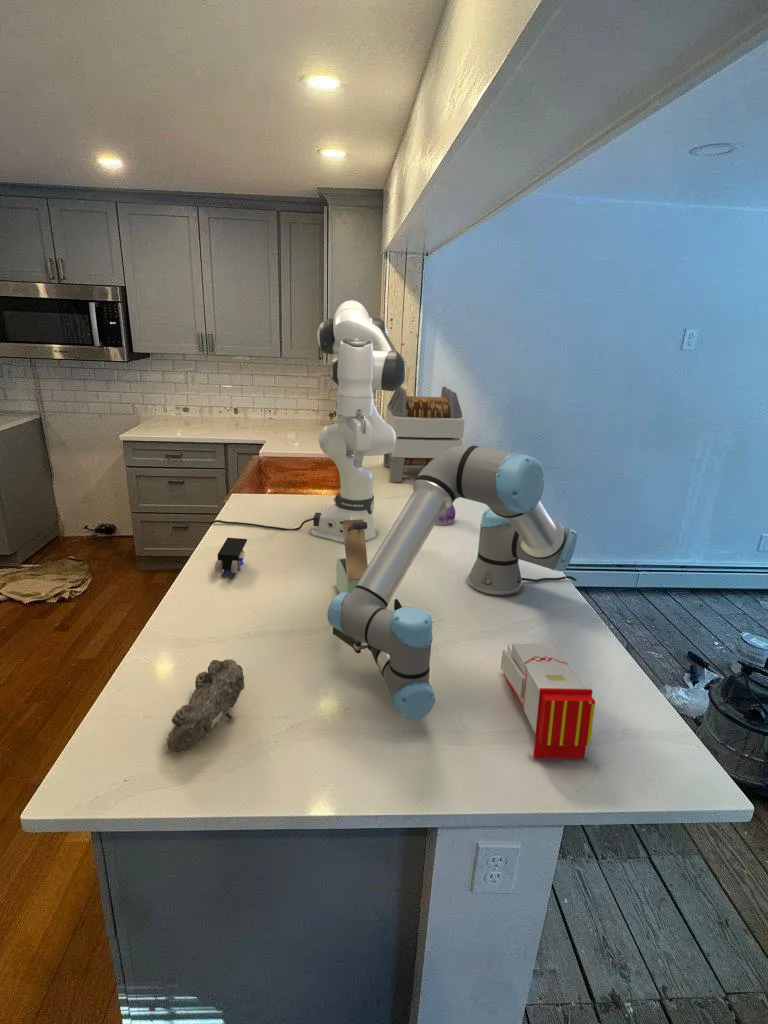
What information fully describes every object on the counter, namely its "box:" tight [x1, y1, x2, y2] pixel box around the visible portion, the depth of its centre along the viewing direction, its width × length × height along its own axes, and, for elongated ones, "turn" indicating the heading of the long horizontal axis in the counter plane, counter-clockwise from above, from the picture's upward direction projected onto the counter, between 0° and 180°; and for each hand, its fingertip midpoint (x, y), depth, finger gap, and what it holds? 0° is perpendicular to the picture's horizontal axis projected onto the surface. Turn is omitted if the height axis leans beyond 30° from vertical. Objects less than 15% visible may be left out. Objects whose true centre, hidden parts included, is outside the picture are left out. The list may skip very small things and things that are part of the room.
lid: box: [343, 519, 369, 580], centre depth 143 cm, size 15×5×8 cm
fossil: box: [166, 658, 245, 754], centre depth 106 cm, size 22×10×15 cm
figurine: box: [435, 503, 456, 526], centre depth 211 cm, size 9×10×15 cm
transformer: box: [383, 385, 465, 483], centre depth 268 cm, size 34×33×41 cm
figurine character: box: [214, 537, 248, 578], centre depth 166 cm, size 7×8×15 cm
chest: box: [335, 557, 360, 594], centre depth 153 cm, size 15×5×9 cm, turn 16°
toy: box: [499, 642, 596, 760], centre depth 113 cm, size 12×13×30 cm
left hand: (353, 462), depth 143 cm, fingers open, 8 cm apart
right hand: (368, 606), depth 135 cm, fingers open, 13 cm apart
